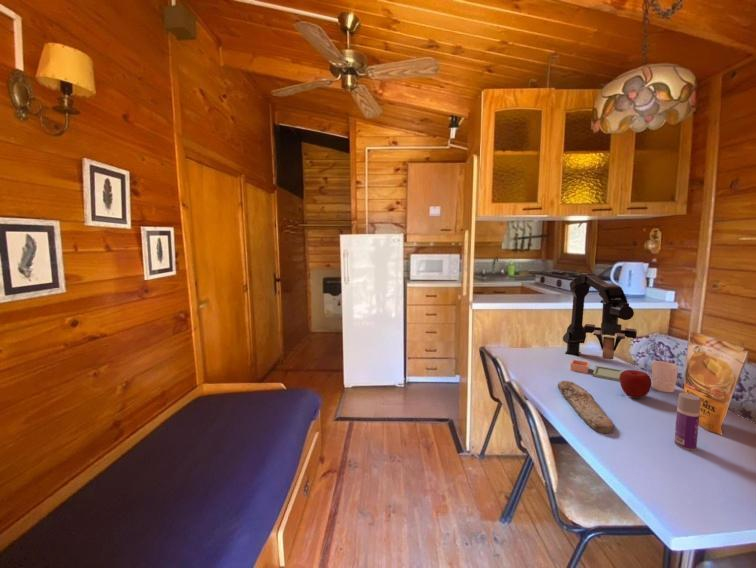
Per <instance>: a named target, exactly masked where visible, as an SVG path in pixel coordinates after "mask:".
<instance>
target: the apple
mask: <svg viewBox="0 0 756 568" xmlns="http://www.w3.org/2000/svg"><path fill="white" fill-rule="evenodd" d="M619 383H620V387H621V389H622V391H623V392H624V394H625V395H626V396H628V397H629V398H632V399H641V398H644V397H645V396H646V395H648V394H649V392H650V390H651V388H652V377H650V375H649V374H647V373H646V372H644V371H641V370H636V369H626V370H622V373H621V374H620V381H619Z"/></svg>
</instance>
